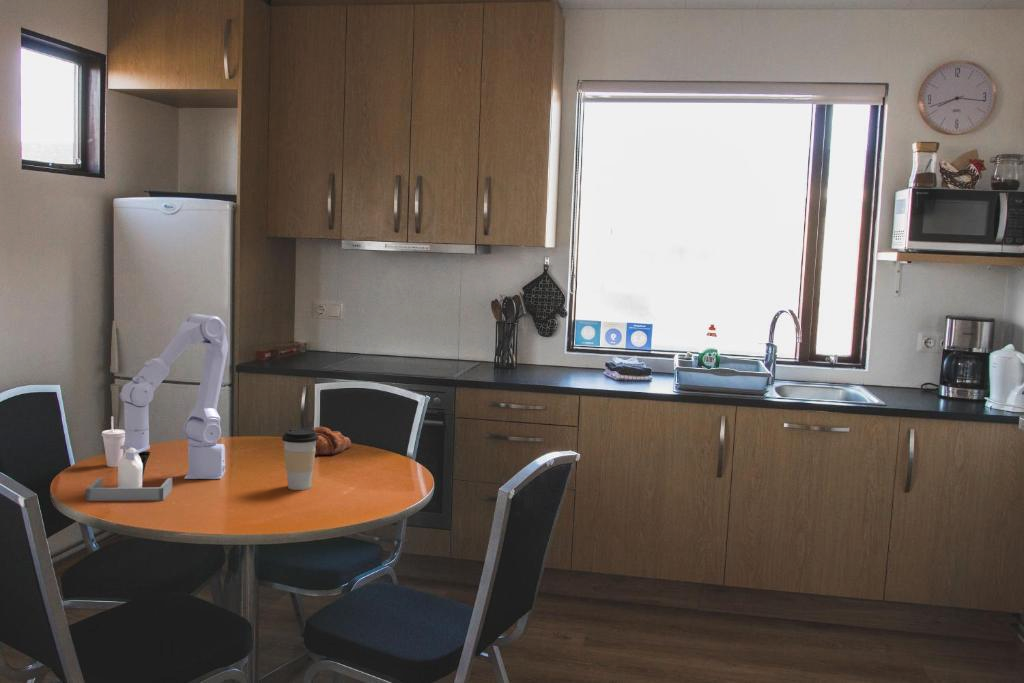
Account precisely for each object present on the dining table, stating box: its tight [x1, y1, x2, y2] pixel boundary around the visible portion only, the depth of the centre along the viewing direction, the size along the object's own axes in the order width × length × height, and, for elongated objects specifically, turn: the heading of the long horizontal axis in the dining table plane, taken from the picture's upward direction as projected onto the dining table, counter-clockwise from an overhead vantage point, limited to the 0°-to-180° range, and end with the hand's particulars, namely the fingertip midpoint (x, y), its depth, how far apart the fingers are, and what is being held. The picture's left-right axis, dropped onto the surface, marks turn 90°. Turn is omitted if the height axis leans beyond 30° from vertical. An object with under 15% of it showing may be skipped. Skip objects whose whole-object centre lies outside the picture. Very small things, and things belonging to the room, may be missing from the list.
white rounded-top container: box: [117, 447, 143, 488], centre depth 228 cm, size 6×12×6 cm
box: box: [85, 477, 173, 502], centre depth 227 cm, size 18×10×3 cm, turn 98°
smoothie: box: [101, 416, 125, 468], centre depth 254 cm, size 6×6×14 cm
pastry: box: [312, 426, 352, 457], centre depth 280 cm, size 17×15×8 cm
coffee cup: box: [281, 427, 319, 491], centre depth 239 cm, size 9×9×15 cm
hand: (137, 480), depth 233 cm, fingers closed
